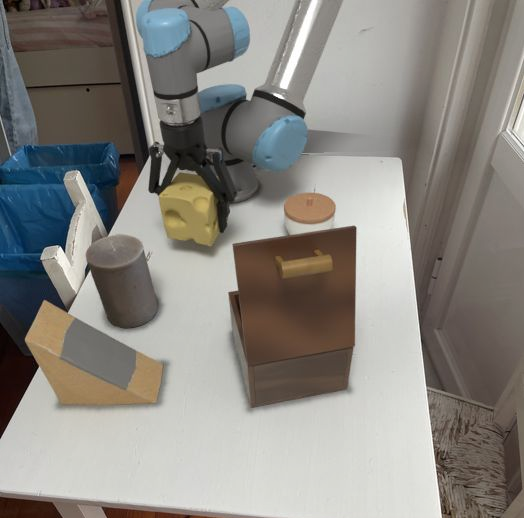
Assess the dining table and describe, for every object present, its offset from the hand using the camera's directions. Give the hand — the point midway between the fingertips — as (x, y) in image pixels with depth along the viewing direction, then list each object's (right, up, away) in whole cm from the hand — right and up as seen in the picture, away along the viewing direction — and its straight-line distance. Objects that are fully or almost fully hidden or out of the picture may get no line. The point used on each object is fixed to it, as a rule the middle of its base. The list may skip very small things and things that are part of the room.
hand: (198, 226), depth 101 cm
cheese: (0, -1, +1) cm, 1 cm away
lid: (+18, -19, -37) cm, 45 cm away
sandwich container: (-11, -32, -22) cm, 40 cm away
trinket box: (+23, -1, +5) cm, 24 cm away
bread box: (+18, -28, -19) cm, 38 cm away
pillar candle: (-11, -19, -10) cm, 24 cm away
